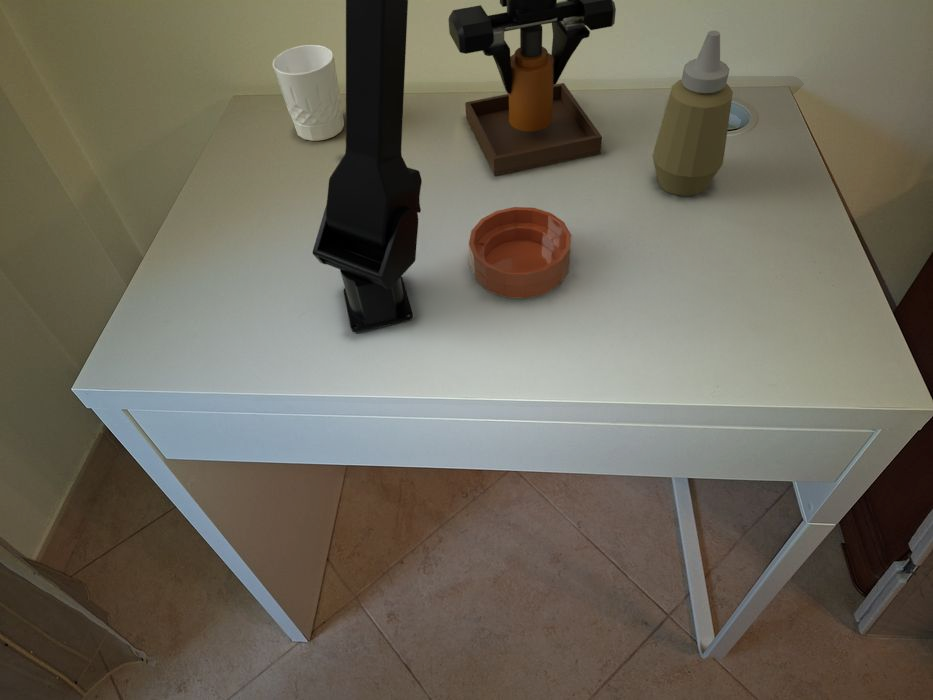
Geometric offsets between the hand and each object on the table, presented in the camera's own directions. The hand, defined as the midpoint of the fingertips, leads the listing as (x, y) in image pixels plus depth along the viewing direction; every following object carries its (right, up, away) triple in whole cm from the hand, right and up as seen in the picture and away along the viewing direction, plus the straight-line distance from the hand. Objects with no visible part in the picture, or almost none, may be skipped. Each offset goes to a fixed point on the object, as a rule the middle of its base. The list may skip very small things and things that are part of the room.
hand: (530, 87), depth 85 cm
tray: (0, -4, +5) cm, 7 cm away
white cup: (-29, -2, +10) cm, 30 cm away
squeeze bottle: (+18, -13, -3) cm, 22 cm away
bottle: (0, -3, +3) cm, 4 cm away
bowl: (-2, -24, -11) cm, 26 cm away
